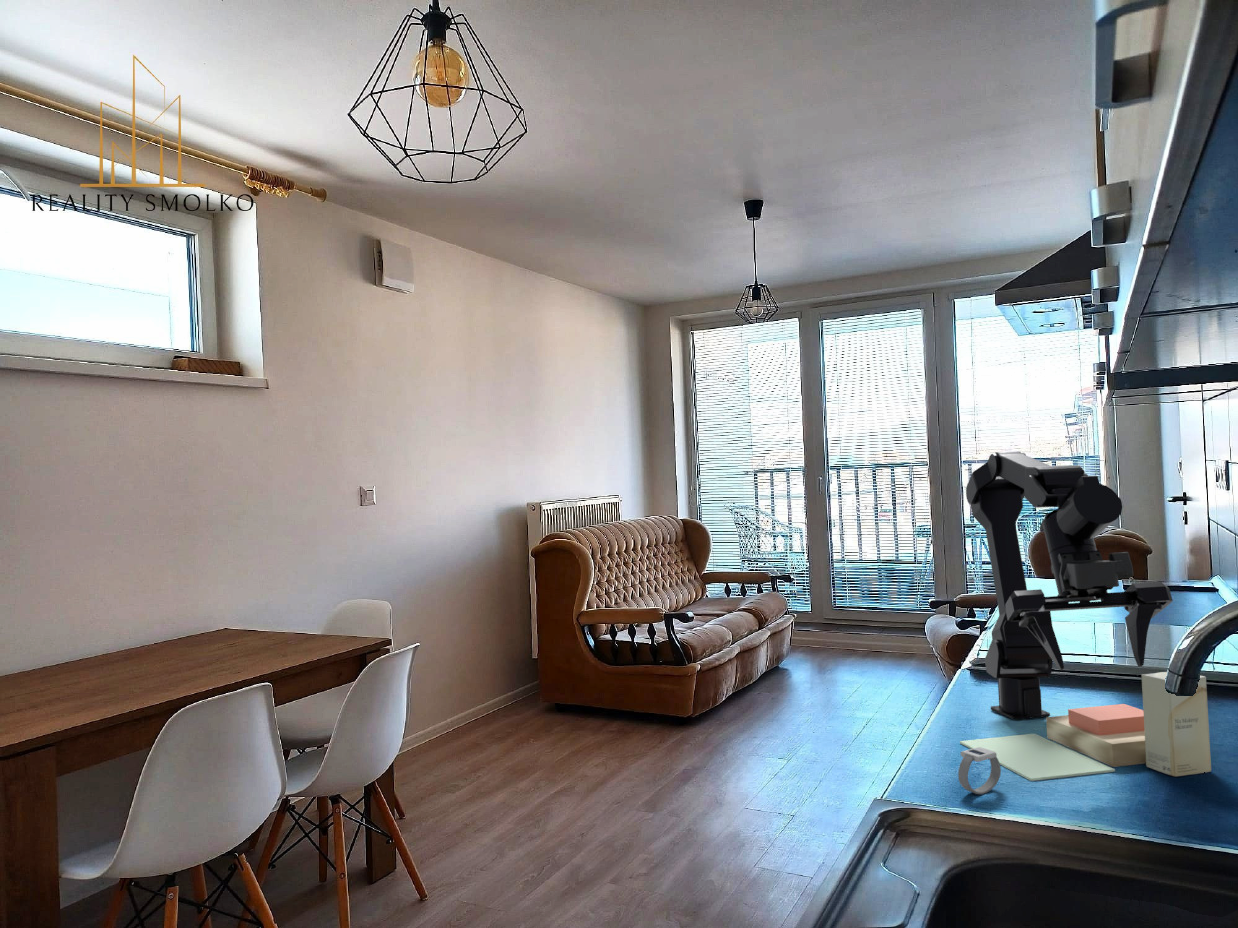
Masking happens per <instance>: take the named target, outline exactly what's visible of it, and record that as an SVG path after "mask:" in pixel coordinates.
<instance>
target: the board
mask: <svg viewBox="0 0 1238 928" xmlns="http://www.w3.org/2000/svg"><path fill="white" fill-rule="evenodd" d="M1045 720H1046V721H1045V722H1046V724H1045V725H1046V739H1048V740H1050V741H1052V742H1054V743H1057V744H1059V745H1061V746H1063V747H1066V748H1068V749H1070V750H1072V751H1075V752H1077V753H1079V754H1081V755H1084V756H1086V757H1088V758H1091V759H1093V760H1095V761H1097V762H1100V763H1102V764H1104V765H1106V766H1109V767H1111V768H1112V767H1113V768H1116V767H1117V768H1118V767H1125V766H1132V765H1134V766H1135V765H1142V764H1143V765H1144V764H1145V765H1146V750H1145V731H1139V732H1129V733H1120V734H1110V735H1100V736H1099V735H1097V734H1094V733H1092V732H1089V731H1087V730H1084V729H1082V728H1079V727H1077V726H1074V725H1072V724H1069V718H1068V714H1066V715H1056V716H1048V717H1046V718H1045Z"/></svg>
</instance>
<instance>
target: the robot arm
mask: <svg viewBox="0 0 1238 928" xmlns="http://www.w3.org/2000/svg"><path fill="white" fill-rule="evenodd" d="M965 495H966V500H967V503H968V504H969V505H970V508H971V513H972V516H973V517H974V519H975V520H976V521H977V522H978V523H979V525H980V526H981V527H983V528H984V530H985V533H986V534H985V535H986V541H987V542H986V543H987V546H988V548H987V549H988V553H989V560H990V566H991V572H992V578H993V582H994V583H993V584H994V591H995V596H996V602H997V609H998V613H999V614H998V618H997V620H996V622H995V624H994V626H993V627H992V628H993V629H992V630H991V638H992V639H991V641H990V644H989V646H988V651H987V652H986V655H985V658H984V663H985V671H986V673H987V674H988V675H990V676H992V677H993V678H995V679H997V687H998V688H997V691H998V705H993V706H992V705H991V706H990V710H991V711H994V712H995V713H998V714H1000V715H1002V716H1005V717H1007V718H1009V719H1012V720H1017V721H1018V720H1025V719H1026V720H1027V719H1034V718H1035V719H1036V718H1045V717H1051V713H1050V712H1049V711H1046V710H1043V705H1042V690H1041V684H1040V681H1041V680H1040V678H1048V679H1049V678H1051V677H1052V671H1053V663H1054V664H1055V666H1056V668H1057V669H1058V670H1059V671H1063V670H1064V669H1065V665H1064V660H1063V655H1062V652H1061V649H1060V645H1059V641H1058V640H1057V637H1056V633H1055V630H1054V628H1053V621H1052V615H1051V614H1052V612H1059V611H1075V610H1090V609H1093V610H1094V609H1108V608H1109V609H1110V608H1123V609H1124V610H1125V611H1126V612H1128V613H1129V614H1127V615H1126V616H1125V617H1124V620H1125V625H1126V629H1127V633H1128V638H1129V642H1130V646H1131V650H1132V653H1133V657H1134V660H1135V663H1136V665H1137V667H1138V668H1139V667H1143V666H1144V664H1145V656H1146V648H1147V647H1146V646H1147V638H1148V631H1149V626H1150V623H1151V621H1152V619H1153V618H1154V617H1156V616H1157V615H1158V614H1159V613H1161V612H1162V611H1163V610H1164V609H1166V608H1167V606H1169V605H1170V604H1171V603H1173V602H1174V600H1173V597H1172V594H1171V589H1170V588H1169V587H1168V586H1167V585H1166V584H1165V583H1164V582H1163V581H1149V582H1134V583H1131V585H1129V587H1127V588H1126V589H1125V590H1124V591H1118V592H1108V590H1112V589H1113V588H1117V587H1120V582H1119V579H1127V578H1133V576H1134V569H1133V568H1134V567H1133V564H1132V563H1133V562H1132V561H1131V557H1130V554H1129V552H1128V551H1123V552H1122V551H1121V552H1110V553H1108V559H1107V560H1106V559H1105V560H1104V559H1103V556H1102V553H1101V551H1100V550H1098V549H1097V546H1096V542H1095V539H1094V538H1096V537H1098V536H1099V535H1100V534H1102V532H1104V530H1106V529H1107V528H1108V527H1109V526H1110V525H1111V524H1113V523H1114V522H1115V521H1116V520H1117V519H1118V518H1119V517H1120V515H1121V514H1122V511H1123V502H1122V499H1121V498H1120V496H1119V495H1118V494H1117V493H1116V492H1115V491H1114V489H1112V488H1111V487H1109V486H1107V485H1105V484H1102V483H1101V482H1100V480H1099V476H1098V475H1088V474H1087V473H1086V472H1085V470H1084V469H1083V468H1082V467H1081V466H1080V465H1077V464H1073V465H1072V464H1069V465H1067V464H1064V465H1050V464H1048V463H1045V462H1043V461H1040V460H1038V459H1035V458H1032V457H1031V456H1028V455H1027V454H1026V453H1025V452H1021V451H1020V450H1018V451H1015V450H1014V451H997V452H995V453H991V454H990V455H989V457H988V460H987V462H985V463H983V464H982V465H981V466H979V467H978V468H976V469H975V470H974V471H973V472H972V473H971V475H970V476H969V479H968V481H967V485H966V488H965ZM1024 499H1026V500H1027V501H1028V502H1029V504H1031V505H1032V507H1034V508H1036V509H1037V508H1038V509H1039V508H1057V509H1054V510H1052V511H1050V512H1046V513H1045V515H1044V518H1043V519H1042V521H1041V523H1040V524H1039V525H1040V526H1039V531H1040V533H1044V538H1045V541H1046V546H1047V551H1048V555H1049V559H1050V563H1051V566H1050V569H1051V574H1053V577H1054V579H1055V584H1056V588H1057V593H1058V594H1057V595H1054V596H1052V595H1051V596H1045V593H1044V592H1043V590H1042V589H1041V588H1039V589H1028V588H1027V582H1026V577H1025V576H1026V575H1025V571H1024V565H1023V560H1022V553H1021V548H1020V543H1019V542H1020V541H1019V536H1018V531H1017V527H1016V526H1017V525H1016V523H1017V522H1018V519H1019V517H1020V515H1021V512H1022V510H1023V509H1024V504H1023V503H1024V502H1023V501H1024Z"/></svg>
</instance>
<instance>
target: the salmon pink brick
mask: <svg viewBox="0 0 1238 928" xmlns="http://www.w3.org/2000/svg"><path fill="white" fill-rule="evenodd" d="M1067 713H1068V714H1067V715H1068V718H1069V724H1072V725H1074V726H1077V727H1079V728H1082V729H1084V730H1087V731H1089V732H1092V733H1094V734H1097V735H1099V736H1100V735H1110V734H1120V733H1129V732H1139V731H1144V712H1143V709H1140V708H1138V707H1134V706H1131V705H1128V704H1127V703H1126V704H1125V703H1120V704H1109V705H1108V704H1107V705H1101V706H1100V705H1098V706H1097V705H1095V706H1087V707H1079V708H1068V709H1067Z"/></svg>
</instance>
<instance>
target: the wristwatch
mask: <svg viewBox="0 0 1238 928" xmlns="http://www.w3.org/2000/svg"><path fill="white" fill-rule="evenodd" d="M960 756H961V757H962V759H961V761H960V763H959V767H958V772H957V775H958V776H957V777H958V781H959V784H960V786H961V787H962V788H963V789H965V790H966V791H968V792H969V793H970V792H971V793H973V794H975V795H985V794H987V793H989V792H990V791H992V790H993V789H994V788H995V786H996V785H997V784H998V783H999V780H1000V777H1001V774H1002V773H1001V772H1002V770H1001V769H1002V768H1001V765H1000V763H999V761H998V759H997V757H996V756H997V754H996V752H994V751H991V750H988V749H985V748H981V747H977V748H974V749H970V748H969V749H967V750H962V751H960ZM986 760H989V763H990V773H989V776H988V778H987V780H986V781H985V782H984V783H983V784H982V785H981V786H980V787H977V788H975V789H974V788H972V786H971V785H970V782H969V771H970V767H971V766H972V763H973V761H974V762H977V763H979V762H983V761H986Z"/></svg>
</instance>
